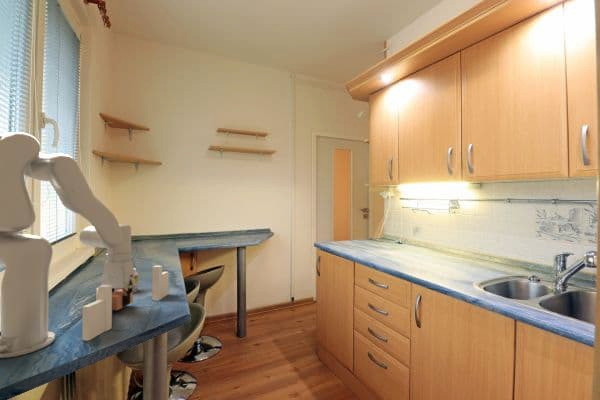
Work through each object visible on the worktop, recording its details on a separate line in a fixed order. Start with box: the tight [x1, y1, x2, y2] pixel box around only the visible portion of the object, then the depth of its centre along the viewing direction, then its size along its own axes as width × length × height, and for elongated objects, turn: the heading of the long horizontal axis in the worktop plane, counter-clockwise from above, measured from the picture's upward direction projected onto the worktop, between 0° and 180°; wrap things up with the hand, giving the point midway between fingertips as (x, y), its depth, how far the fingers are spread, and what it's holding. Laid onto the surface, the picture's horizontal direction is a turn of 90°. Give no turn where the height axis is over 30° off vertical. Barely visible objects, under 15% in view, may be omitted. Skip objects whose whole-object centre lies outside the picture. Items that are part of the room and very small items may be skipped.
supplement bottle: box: [126, 267, 139, 293], centre depth 124 cm, size 6×6×10 cm
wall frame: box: [81, 265, 170, 342], centre depth 101 cm, size 40×3×14 cm, turn 173°
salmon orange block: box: [112, 289, 134, 311], centre depth 104 cm, size 8×5×5 cm, turn 175°
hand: (119, 304), depth 104 cm, fingers closed on salmon orange block, 5 cm apart
